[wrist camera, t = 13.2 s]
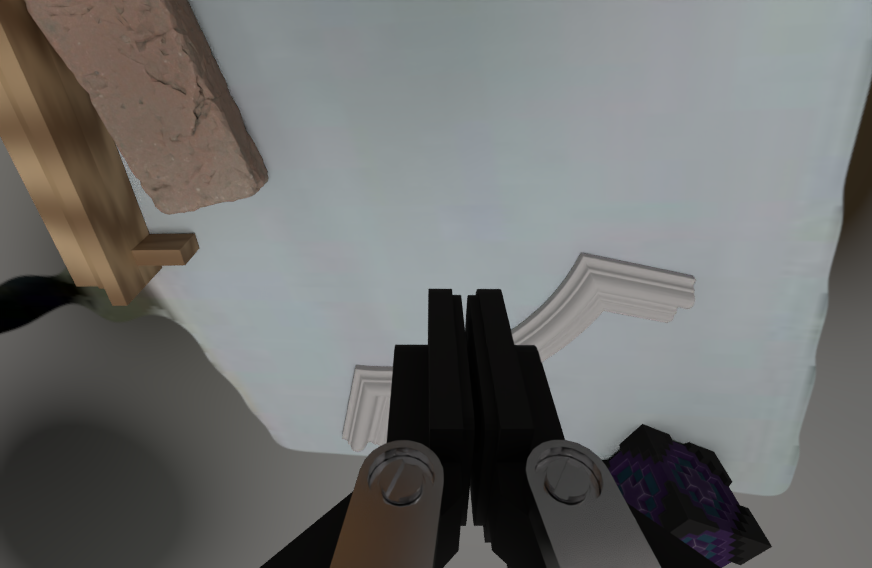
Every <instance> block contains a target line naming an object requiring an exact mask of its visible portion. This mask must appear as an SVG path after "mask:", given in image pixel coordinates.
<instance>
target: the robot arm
mask: <svg viewBox="0 0 872 568" xmlns="http://www.w3.org/2000/svg"><path fill="white" fill-rule="evenodd" d="M469 490H470V491H471V502H472V514H473V523H474V526H483V528H484V538H485V542H491V546H492V551H493V552H494V553H495V554H496V555H498V556H499V557H500V558H501V559H502V560H503V561H504V562H505V563H506V564H507V568H720V567H719V566H718V565H716V564H715V563H713V562H712V561H710V560H709V559H708V558H706V557H705V556H703V555H702V554H700V553H699V552H697V551H696V550H695V549H693V548H692V547H690V546H689V545H687V544H686V543H684V542H683V541H682V540H680V539H679V538H677V537H676V536H674V535H673V534H671V533H670V532H669V531H667V530H666V529H664V528H663V527H661V526H660V525H659V524H657V523H656V522H654V521H653V520H651V519H650V518H648V517H647V516H646V515H644V514H643V513H641V512H640V511H638V510H637V509H635V508H634V507H633V506H631V505H630V504H628V503H627V502H626V501H625V499H624V498H623V496H622V494H621V492H620V490H619V488H618V486H617V485H616V483H615V481H614V479H613V477H612V475H611V473H610V472H609V470H608V468H607V467H606V465H605V464H604V463H603V461H602V460H601V459H600V458H599V457H598V456H597V455H596V454H595V453H593V452H592V451H591V450H590V449H588V448H586V447H584V446H582V445H580V444H578V443H575V442H571V441H567V440H565V438H564V435H563V432H562V428H561V425H560V422H559V418H558V415H557V412H556V408H555V405H554V402H553V398H552V395H551V392H550V388H549V385H548V382H547V378H546V375H545V372H544V368H543V365H542V362H541V358H540V355H539V352H538V349H537V347H536V346H535V345H514V341H513V337H512V333H511V328H510V324H509V320H508V316H507V312H506V308H505V303H504V299H503V295H502V291H501V289H477V291H476V295H468V298H467V311H466V325H465V327H464V318H463V308H462V299H461V295H452V289H429V294H428V345H395V350H394V361H393V373H392V384H391V396H390V408H389V419H388V431H387V443H385V444H383V445H381V446H380V447H378V448H376V449H375V450H373V451H372V452H371V453H370V454H369V455H368V457H367V458H366V459H365V460H364V462H363V464H362V466H361V468H360V471H359V474H358V477H357V480H356V484H355V487H354V490H353V492H352V493H350V494H349V495H348V496H347V497H346V498H344V499H343V500H342V501H341V502H340V503H338V504H337V505H336V506H334V507H333V508H332V509H331V510H330V511H328V512H327V513H326V514H325V515H323V517H321V518H320V519H319V520H317V521H316V522H315V523H314V524H312V525H311V526H310V527H309V528H308V529H306V530H305V531H304V532H303V533H301V534H300V535H299V536H298V537H297V538H295V539H294V540H293V541H292V542H290V543H289V544H288V545H287V546H286V547H284V548H283V549H282V550H281V551H279V552H278V553H277V554H276V555H275V556H273V557H272V558H271V559H270V560H268V562H266V563H265V564H264V565H262V566H261V567H260V568H443V567H444V566H445V565H446V564H447V563H448V562H449V561H450V559H451V558H452V557H453V556H454V555H455V554H456V553H457V552H458V549H459V537H460V526H466V521H467V509H468V500H469Z"/></svg>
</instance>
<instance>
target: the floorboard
mask: <svg viewBox="0 0 872 568" xmlns="http://www.w3.org/2000/svg"><path fill="white" fill-rule="evenodd" d="M0 137H1V138H2V140H3V143H4V145H5V147H6V148H7V150H8V152H9V154H10V156H11V158H12V160H13V162H14V164H15V166H16V168H17V170H18V172H19V174H20V176H21V178H22V180H23V182H24V184H25V186H26V188H27V189H28V192H29V194H30V196H31V197H32V200H33V201H34V204H35V206H36V207H37V209H38V211H39V213H40V215H41V217H42V219H43V221H44V223H45V225H46V227H47V229H48V231H49V233H50V235H51V237H52V239H53V241H54V243H55V245H56V247H57V249H58V251H59V253H60V255H61V256H62V259H63V261H64V262H65V264H66V266H67V268H68V270H69V272H70V274H71V276H72V278H73V280H74V282H75V284H76V286H98V287H99V289H101V288H105V290H106V292H107V295H108V297H109V299H110V301H111V303H112V305H113V306H124V305H128V304H129V303H130V302H131V301H132V300H133V299H134V298H135V297H136V296H137V295H138V293H139V292H140V291H141V290H142V289H143V288H144V287H145V286H146V285H147V284H148V283H149V281H150V280H151V279H152V278H153V277H154V276H155V275H156V274H157V273H158V272H159V271H160V269H161V268H162V266H164V265H186V264H187V262H188V261H189V260H190V259H191V258H192V256H193V255H194V254H195V253H196V252H197V251H198V249H199V246H198V242H197V239H196V236H195V233H194V234H149V232H148V229H147V227H146V224H145V221H144V219H143V216H142V213H141V211H140V208H139V205H138V203H137V200H136V197H135V195H134V192H133V190H132V187H131V184H130V182H129V179H128V176H127V174H126V171H125V168H124V166H123V163H122V160H121V158H120V155H119V153H118V150H117V147H116V145H115V142H114V139H113V138H112V137H111V135H110V134H109V132H108V130H107V129H106V127H105V125H104V123H103V122H102V120H101V118H100V116H99V115H98V113H97V111H96V109H95V107H94V106H93V104H92V102H91V99H90V95H89V93H88V92H87V91H86V90H85V89H84V88H83V87H82V86H81V85H80V84H79V82H78V81H77V80H76V78H75V76H74V74H73V72H72V71H71V70H70V69H69V68H68V67H67V65H66V64H65V62H64V61H63V60H62V58H61V57H60V56H59V54H58V53H57V52H56V51H55V49H54V48H53V47H52V45H51V44H50V43H49V41H48V40H47V38H46V37H45V35H44V34H43V32H42V31H41V29H40V28H39V26H38V25H37V24H36V22H35V21H34V19H33V18H32V16H31V15H30V13H29V12H28V10H27V6H26V3H25V1H24V0H0Z"/></svg>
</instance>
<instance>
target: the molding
mask: <svg viewBox="0 0 872 568" xmlns="http://www.w3.org/2000/svg"><path fill="white" fill-rule="evenodd" d="M695 281H696V279H695V278H694V277H693V276H692V275H687V274H682V273H677V272H673V271H668V270H663V269H658V268H653V267H649V266H644V265H639V264H634V263H629V262H625V261H620V260H615V259H610V258H605V257H600V256H596V255H591V254H586V253H581V254H580V255H579V257H578V259H577V261H576V263H575V264H574V266H573V268H572V269H571V271H570V272H569V274H568V275H567V276H566V278H565V279H564V281H563V282H562V283H561V285H560V286H559V287H558V288H557V290H556V291H555V292H554V293H553V294H552V295H551V296H550V298H549V299H548V300H547V301H546V302H545V303H544V304H543V305H542V306H541V307H540V308H539V309H537V310H536V311H535V312H534V313H533V314H532V315H531V316H529V317H528V318H527V319H526V320H524V321H523V322H522V323H521V324H519V325H518V326H516V327H515V328H513V329H512V330H511V333H512V337H513V341H514V345H535V346H536V347H537V349H538V352H539V355H540V358H541V362H543V361H545V360H546V359H548V358H549V357H551V356H552V355H554V354H555V353H557V352H558V351H559V350H561V349H562V348H564V347H565V346H566V345H567V344H569V343H570V342H571V341H573V340H574V339H575V338H576V337H577V336H579V335H580V334H581V333H582V332H583V331H584V330H585V329H586V328H587V327H588V326H590V325H591V324H592V323H593V322H594V321H595V320H596V319H597V318H598V317H599V315H600V314H601V313H602V312H603V311H607V312H612V313H617V314H623V315H628V316H633V317H638V318H644V319H649V320H654V321H660V322H665V323H668V322H671V321H672V320H673V318H674V314H676V313H677V308H678V307H679V308H684V309H690V308H692V307H693V305H694V303H695V296H694V291H695V290H694V287H693V286H694V283H695ZM392 373H393V367H380V366H364V365H356V368H355V373H354V379H353V384H352V389H351V394H350V399H349V405H348V410H347V415H346V420H345V425H344V431H343V436H342V439H345V440H347V441H348V444H350V445H351V448H352V449H353V451H355V452H360V451H362V450H364V448H365V447H366V445H367V443H368V442H372V443H373V444H378V445H379V446H381V445H383V444H385V443H387V431H388V419H389V408H390V396H391V384H392Z"/></svg>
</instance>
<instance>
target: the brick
mask: <svg viewBox="0 0 872 568" xmlns="http://www.w3.org/2000/svg"><path fill="white" fill-rule="evenodd" d="M24 1H25V3H26V6H27V10H28V12H29V13H30V15H31V16H32V18H33V19H34V21H35V22H36V24H37V25H38V26H39V28H40V29H41V31H42V32H43V34H44V35H45V37H46V38H47V40H48V41H49V43H50V44H51V45H52V47H53V48H54V49H55V51H56V52H57V53H58V54H59V56H60V57H61V58H62V60H63V61H64V62H65V64H66V65H67V67H68V68H69V69H70V70H71V71H72V72H73V74H74V76H75V78H76V80H77V81H78V82H79V84H80V85H81V86H82V87H83V88H84V89H85V90H86V91H87V92H88V93H89V95H90V99H91V102H92V104H93V106H94V107H95V109H96V111H97V113H98V115H99V116H100V118H101V120H102V122H103V123H104V125H105V127H106V129H107V130H108V132H109V134H110V135H111V137H112V138H113V139H114V141H115V143H116V145H117V147H118V149H119V150H120V152H121V154H122V155H123V157H124V158H125V160H126V161H127V163H128V166H129V167H130V169H131V171H132V172H133V174H134V175H135V177H136V178H137V179H139V180H140V182H141V186H142V188H143V189H144V191H145V192H146V193H147V194H148V195H149V196H150V197H151V198H152V200H153V202H154V204H155V207H157V208H158V209H159V210H160V211H161V212H163V213H165V214H175V213H185V212H187V211H195V210H197V209H199V208H201V207H206V206H209V205H213V204H217V203H221V202H234V201H236V200H238V199H243V198H247V197H251V196H253V195H254V194H256V193H257V192H258V191H259V190H260V188H261V187H263V186H264V184H265V183H266V182H267V181H268V175H267V170H266V168H265V166H264V164H263V159H262V157H261V155H260V153H259V151H258V149H257V147H256V145H255V143H254V142H253V140H252V138H251V137H250V135H249V134H248V133H247V132H246V130H245V129H246V128H245V126H244V123H243V120H242V117H241V114H240V111H239V109H238V107H237V105H236V104H235V102H234V100H233V99H232V97H231V95H230V93H229V90H228V87H227V83H226V81H225V79H224V77H223V75H222V73H221V71H220V69H219V67H218V64H217V62H216V60H215V59H214V57H213V56H212V55H211V49H210V47H209V45H208V43H207V41H206V38H205V36H204V34H203V32H202V31H201V29H200V26H199V24H198V21H197V20H196V18H195V16H194V14H193V11H192V9H191V7H190V5H189V2H188V1H187V0H24Z"/></svg>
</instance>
